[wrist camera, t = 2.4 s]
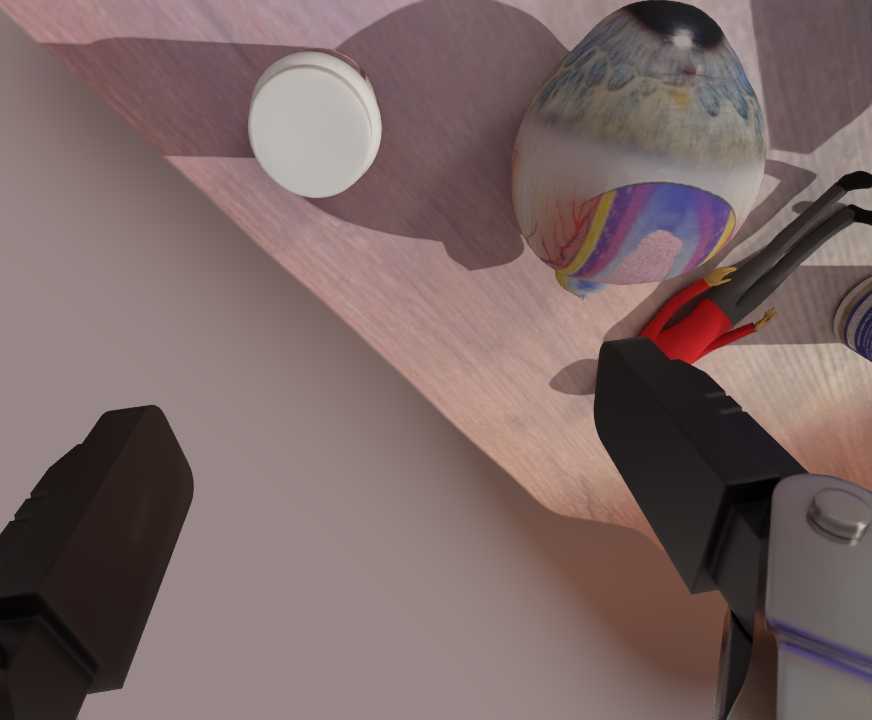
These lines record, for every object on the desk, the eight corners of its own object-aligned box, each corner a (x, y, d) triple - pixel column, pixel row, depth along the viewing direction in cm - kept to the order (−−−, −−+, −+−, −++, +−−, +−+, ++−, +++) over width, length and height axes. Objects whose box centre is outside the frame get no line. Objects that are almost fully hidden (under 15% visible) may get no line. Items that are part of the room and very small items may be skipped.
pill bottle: (250, 87, 23) (200, 110, 16) (337, 24, 22) (324, 17, 15) (316, 180, 25) (298, 235, 18) (396, 126, 24) (410, 162, 17)
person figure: (922, 238, 26) (638, 446, 32) (869, 231, 30) (622, 419, 35) (865, 165, 25) (584, 391, 31) (818, 167, 29) (574, 369, 35)
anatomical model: (730, 60, 25) (918, 72, 16) (603, 286, 30) (694, 380, 22) (554, -30, 22) (671, -73, 13) (451, 237, 28) (489, 322, 19)
